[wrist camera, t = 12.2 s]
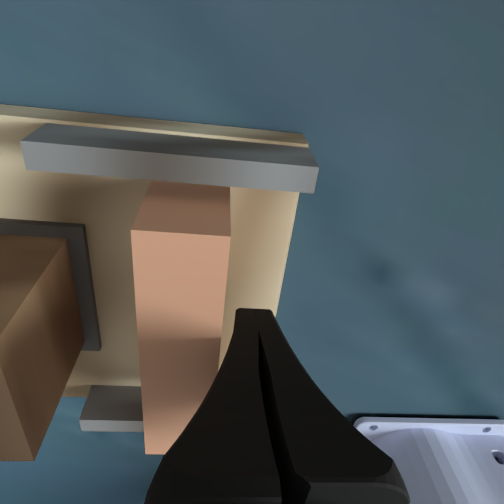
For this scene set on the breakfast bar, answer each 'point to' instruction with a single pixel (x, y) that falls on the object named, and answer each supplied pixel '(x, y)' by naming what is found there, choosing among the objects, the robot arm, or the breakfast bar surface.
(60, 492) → the breakfast bar surface
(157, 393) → the block
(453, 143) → the breakfast bar surface
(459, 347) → the breakfast bar surface
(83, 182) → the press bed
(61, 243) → the block
